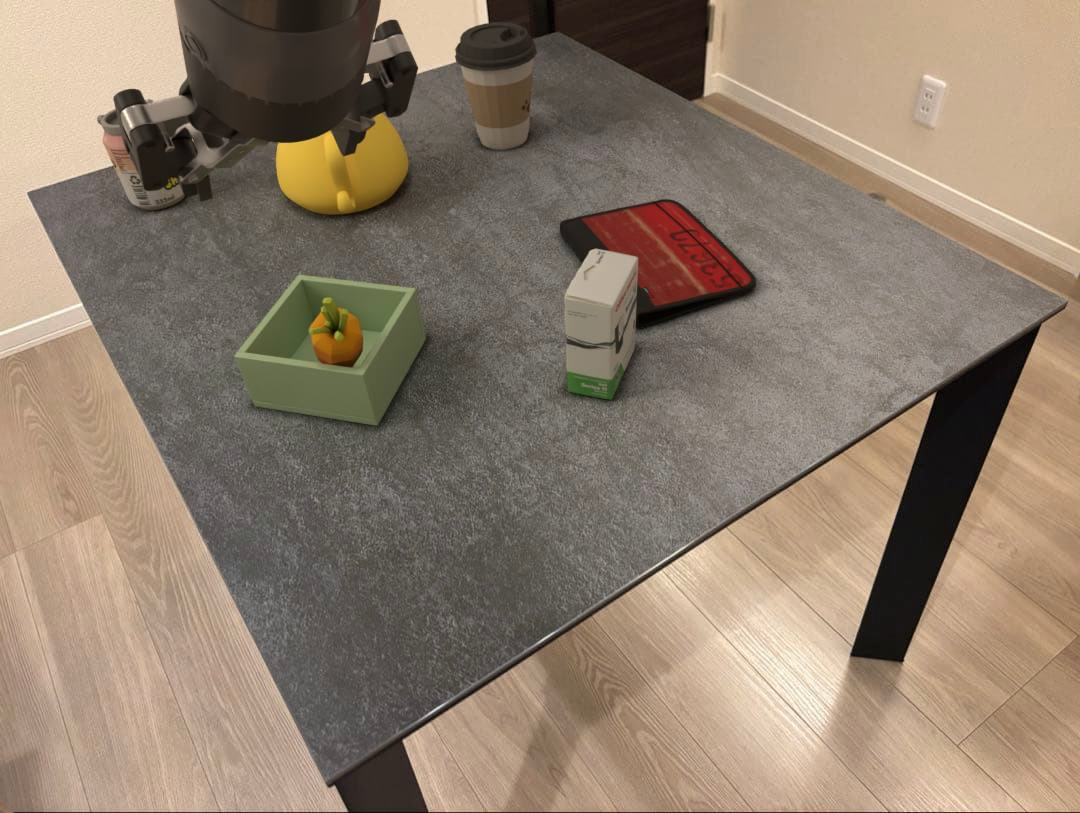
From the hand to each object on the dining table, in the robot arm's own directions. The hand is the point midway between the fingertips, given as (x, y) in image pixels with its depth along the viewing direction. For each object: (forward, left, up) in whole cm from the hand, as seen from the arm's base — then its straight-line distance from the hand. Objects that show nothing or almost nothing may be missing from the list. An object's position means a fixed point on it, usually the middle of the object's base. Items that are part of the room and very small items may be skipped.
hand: (271, 161), depth 48 cm
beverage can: (+22, +69, -35) cm, 80 cm away
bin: (+12, +19, -35) cm, 41 cm away
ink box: (+28, -3, -35) cm, 45 cm away
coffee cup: (+61, +39, -35) cm, 80 cm away
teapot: (+39, +49, -35) cm, 71 cm away
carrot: (+11, +19, -34) cm, 40 cm away
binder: (+47, +3, -35) cm, 58 cm away
